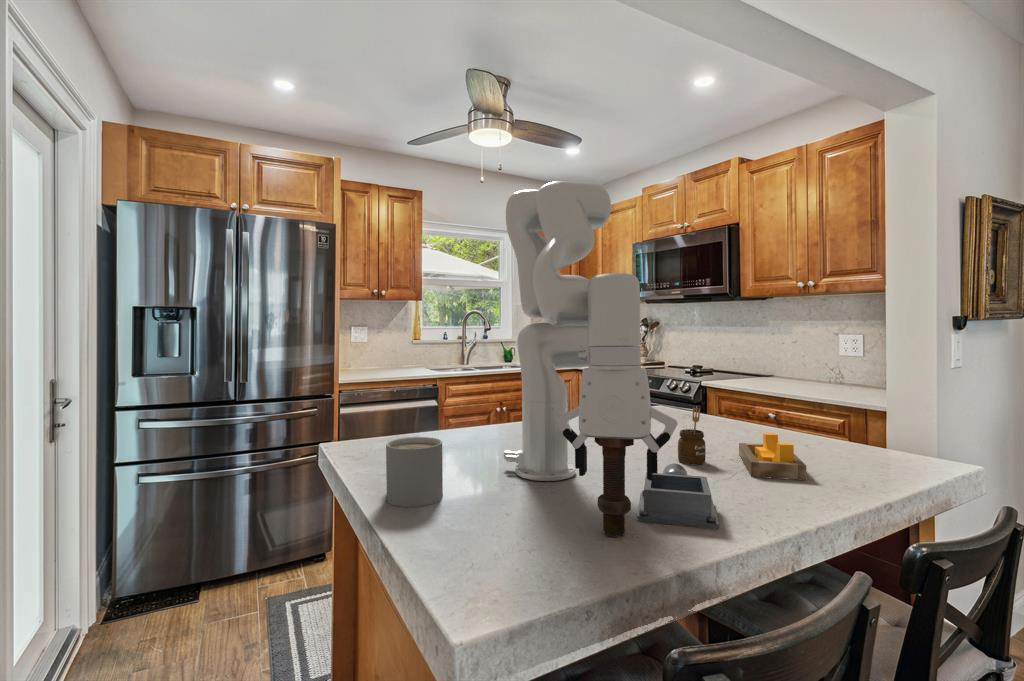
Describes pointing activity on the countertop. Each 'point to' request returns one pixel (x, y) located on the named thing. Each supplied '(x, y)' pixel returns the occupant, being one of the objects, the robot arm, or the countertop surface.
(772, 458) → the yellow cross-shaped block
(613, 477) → the bolt
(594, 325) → the robot arm
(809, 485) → the countertop surface
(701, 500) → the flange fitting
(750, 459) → the parts corral
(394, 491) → the coffee mug
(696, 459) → the utensil holder
